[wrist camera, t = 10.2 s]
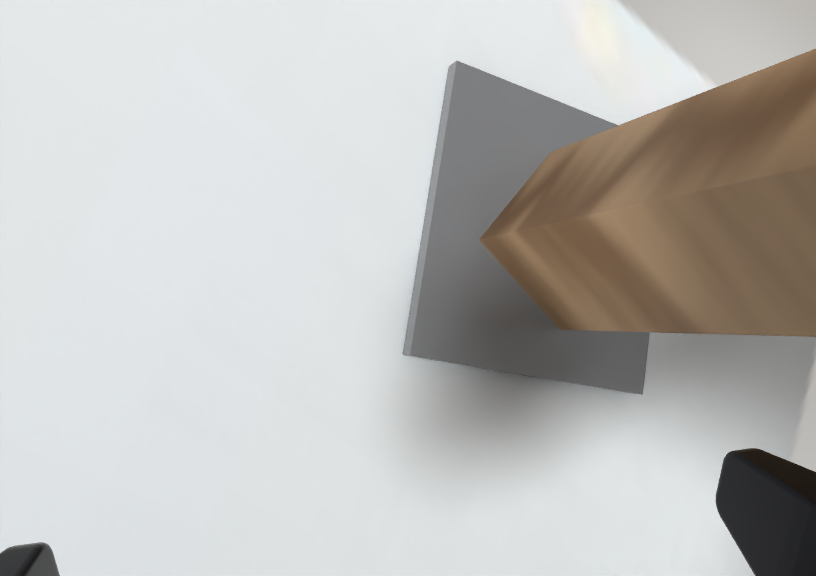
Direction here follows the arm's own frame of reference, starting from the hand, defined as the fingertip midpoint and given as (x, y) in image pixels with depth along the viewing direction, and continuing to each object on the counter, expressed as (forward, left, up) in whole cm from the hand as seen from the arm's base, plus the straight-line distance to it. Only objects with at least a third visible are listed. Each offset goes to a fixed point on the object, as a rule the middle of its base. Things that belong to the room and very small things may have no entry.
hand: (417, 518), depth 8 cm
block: (+8, -11, -12) cm, 18 cm away
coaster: (+8, -11, -13) cm, 18 cm away
